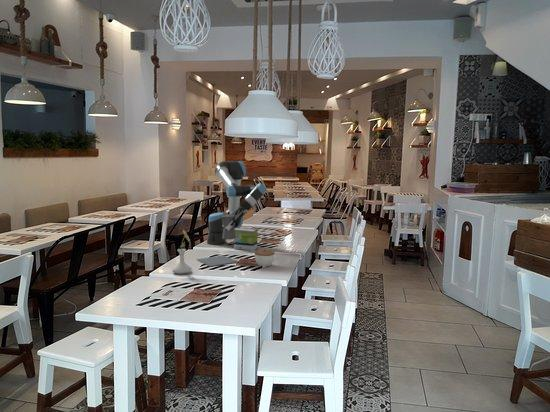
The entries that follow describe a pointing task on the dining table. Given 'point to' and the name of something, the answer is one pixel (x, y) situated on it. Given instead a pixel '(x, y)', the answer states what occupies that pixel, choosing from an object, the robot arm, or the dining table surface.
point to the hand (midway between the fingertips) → (225, 228)
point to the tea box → (245, 239)
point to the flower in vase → (182, 260)
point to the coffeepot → (226, 220)
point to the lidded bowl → (264, 257)
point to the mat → (217, 261)
